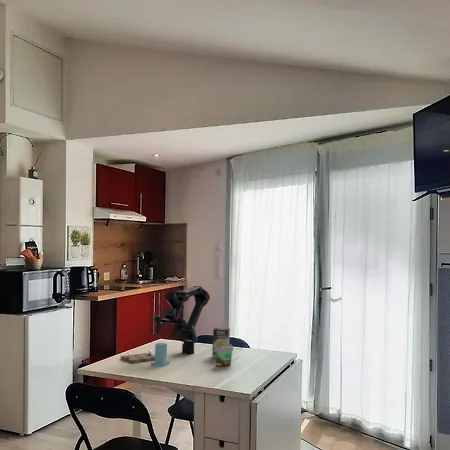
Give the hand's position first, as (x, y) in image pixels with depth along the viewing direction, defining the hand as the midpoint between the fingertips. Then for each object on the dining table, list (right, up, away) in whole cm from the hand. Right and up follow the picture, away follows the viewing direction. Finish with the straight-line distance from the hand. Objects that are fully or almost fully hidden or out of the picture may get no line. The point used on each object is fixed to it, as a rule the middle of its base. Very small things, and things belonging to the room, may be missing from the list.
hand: (164, 335), depth 260 cm
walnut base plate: (-14, -13, +2) cm, 19 cm away
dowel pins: (-14, -12, +2) cm, 18 cm away
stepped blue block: (-1, -13, -8) cm, 15 cm away
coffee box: (+30, -16, +13) cm, 36 cm away
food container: (+33, -15, -6) cm, 36 cm away
